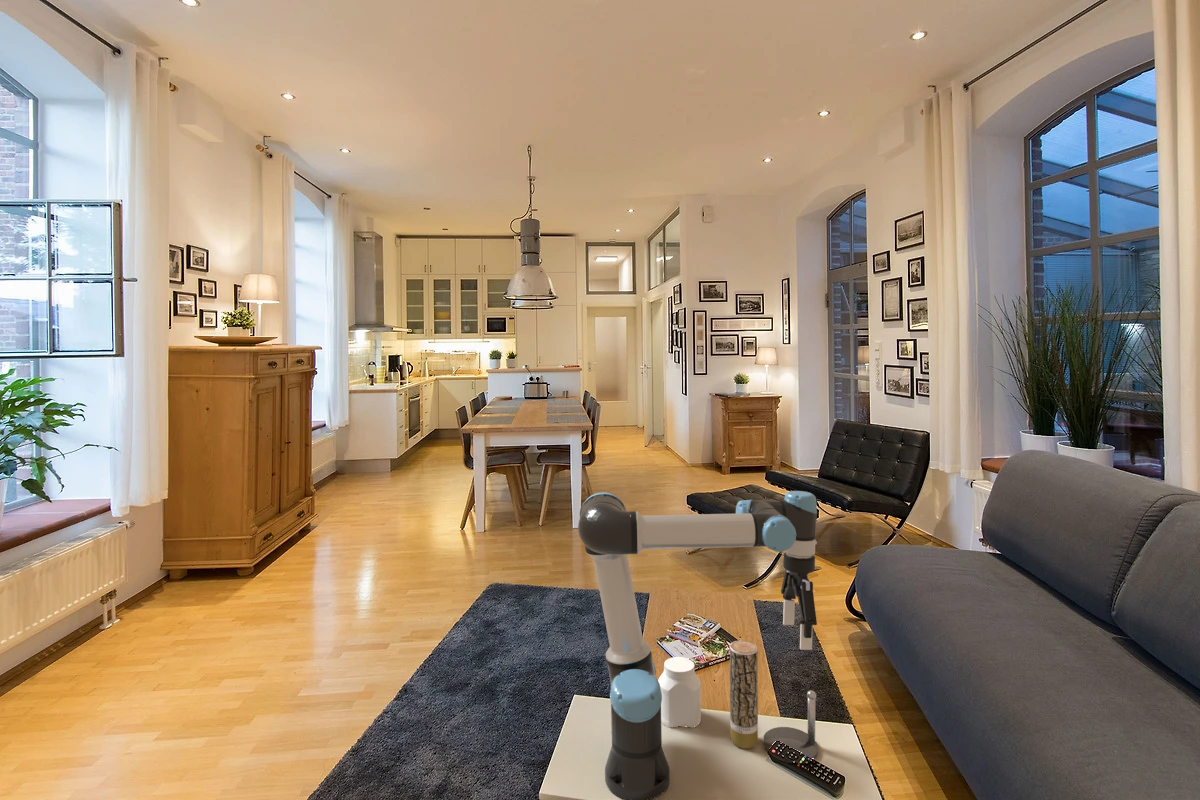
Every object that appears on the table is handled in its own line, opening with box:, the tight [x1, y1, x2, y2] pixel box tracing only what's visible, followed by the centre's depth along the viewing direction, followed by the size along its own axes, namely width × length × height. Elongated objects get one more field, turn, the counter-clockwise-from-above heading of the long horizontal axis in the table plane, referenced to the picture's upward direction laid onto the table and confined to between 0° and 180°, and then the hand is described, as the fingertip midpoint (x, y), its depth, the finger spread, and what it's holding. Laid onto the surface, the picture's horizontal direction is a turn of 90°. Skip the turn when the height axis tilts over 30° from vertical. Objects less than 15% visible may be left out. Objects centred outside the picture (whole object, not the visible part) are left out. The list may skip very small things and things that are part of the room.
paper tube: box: [729, 639, 759, 749], centre depth 154 cm, size 7×7×25 cm
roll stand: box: [762, 689, 819, 760], centre depth 152 cm, size 13×13×14 cm
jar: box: [657, 656, 702, 729], centre depth 166 cm, size 12×10×15 cm
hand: (796, 636), depth 154 cm, fingers open, 13 cm apart
